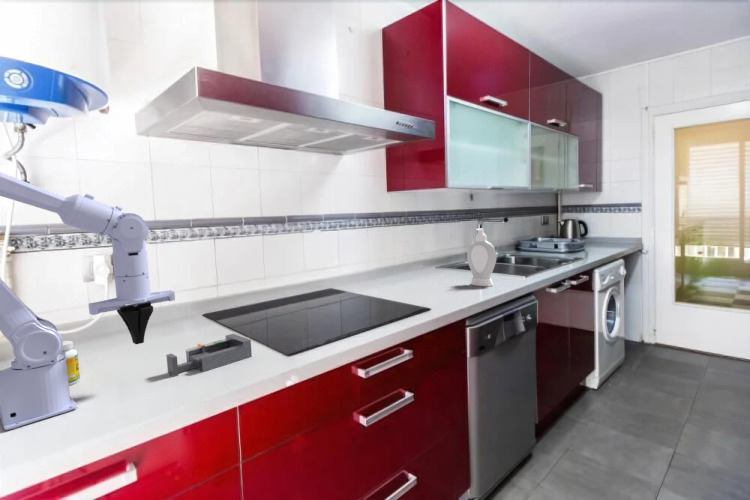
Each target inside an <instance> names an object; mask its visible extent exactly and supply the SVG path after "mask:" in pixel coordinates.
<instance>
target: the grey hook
mask: <svg viewBox="0 0 750 500" xmlns="http://www.w3.org/2000/svg"><path fill="white" fill-rule="evenodd" d="M197 346H200V347H201V350H202V353H199V354H195V355H192V356H190V362H187V361H186V362H184V363H183V362H182V363H180V364H178V356H177V355H175V354H173V353H168V354H166V355H165V356H166V366H167V367H166V368H167V373H168V374H169V375H171V376H172V377H175V376H178V375H179V373H182V372H184V371H188V370H192V369H195V368H196V369H198V370H200V369H199V356H203V355H206V354H209V353H207V352H205V345H204V344H203V343H201V342H199V343H197Z"/></svg>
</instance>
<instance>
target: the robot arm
mask: <svg viewBox="0 0 750 500" xmlns="http://www.w3.org/2000/svg"><path fill="white" fill-rule="evenodd" d="M0 197H3V198H6V199H9V200H12V201H16V202H19V203H23V204H25V205H29V206H33V207H35V208H39V209H42V210H46V211H48V212H51V213H53V214H54V213H55V214H57V216H59V218H60V219H61V221H62V223H63V224H65V225H67V226H71V227H73V228H76V229H80V230H83V231H86V232H89V233H92V234H94V235H99V236H100V237H105V236H108V237H109V239H111V244H112V245H111V246H112V253H111V255H112V256H111V257H112V263H113V274H114V284H115V294H116V297H114V298H110V299H106V300H100V301H96V302H90V303H88V311H89V312H88V313H89V314H90V315H91V316H95V315H99V314H102V313H108V312H113V311H116V312H117V314H118V315H119V316H120V318H121V319H122V321H123V322H124V324H125V326H126V327H127V330H128V332H129V334H130V337H131V340H132V343H133V344H135V345H140V344H143V343H145V334H146V330H147V326H148V323H149V320H150V319H151V318H150V317H151V316H152V314H153V312H154V306H153V304H158V303H162V302H163V303H164V302H174V301H175V300H176V294H175V291H174V290H164V291H163V290H162V291H156V292H151V286H150V275H149V264H148V263H149V261H148V253H147V249H146V248H147V247H146V246H147V245H146V238H147V237H148V234H149V232H150V228H149V226H148V225H147V222H146V220H144V219H143V217H142V216H140V215H139V214H136V213H134V212H133V213H132V212H128V213H127V212H123V207H121V206H118V205H116V206H115V207H114V206H111V205H108V204H106V203H103V202H100V201H98V200H94V199H95V196H94V195H91V194H88V193H86V194H85V195H82V194H79V193H78V194H77V193H76V194H73V195H70V196H67V197H65V196H63V195H60V194H58V193H55V192H52V191H50V190H48V189H45V188H42V187H40V186H37V185H34V184H32V183H29V182H26V181H24V180H21V179H19V178H16V177H13V176H11V175H8V174H6V173H5V172H1V171H0ZM0 332H1V334H2V336H3V337H4V338H6V339H7V340H8V342H10V344H11V346H12V352H13V356H14V357H15V358H14V360H12V361H11V362H10V366H9V367H7V368H4V369H1V370H0V421H1V424H2V426H3V429H4V430H5V431H9V430H12V429H15V428H19V427H22V426H26V425H28V424H31V423H35V422H38V421H42V420H44V419H47V418H50V417H54V416H57V415H60V414H64V413H66V412H69V411H70V412H71V411H72V410H73V411H74V410H76V409H77V408H78V404H77V403H76V402H75V400H74V399H73V398H72V396H71V394H70V386H69V383H68V373H67V364H66V356H65V353H64V352H62V348H63V341H64V340H63V336H62V335H61V334H60V333H59V332H58V329H57V326H56V325H55V324H54V323H53V322H51V321H50V320H47V319H44V318H42V317H39V316H38V315H37V314H35V312H34V311H33V310H32V309H31V308H30V307H28V306H27V305H26V304H25V302H23V301H22V300H21V299H20V298H19V296H17V294H16V293H14V291H13V290H12V289H11V288H10V287H9V286H8V285H7V283H6V282H4V281H3V279H2V278H0Z"/></svg>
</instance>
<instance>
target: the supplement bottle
mask: <svg viewBox="0 0 750 500" xmlns="http://www.w3.org/2000/svg"><path fill="white" fill-rule="evenodd" d="M73 347H74V342H73V341H72V340H63V348H62V352H64V353H65V356H66V364H67V373H68V383H69V387H70V386H72V385H75V384H77V383H78V382H79V381H80V379H81V376H80V375H81V374H80V365H79V364H80V363H79V354H78V351H77V350H76V349H73Z"/></svg>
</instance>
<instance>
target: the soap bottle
mask: <svg viewBox="0 0 750 500" xmlns="http://www.w3.org/2000/svg"><path fill="white" fill-rule="evenodd" d="M475 231H478V233H477V235H475V241H473V242H471V243H470V245H469V246H468V248H467V252H466V253H467V254H466V259H467V263H468V266H469V269H470V271H471V274H472V278H471V281H470V285H471V286H475V287H493V286H494V283H493V280H492V278H491V276H492V273H493V271H494V270H495V265H496V263H497V252H496V249H495V246H494V245H493V244H492V243H491V242H490V241H488V240H487V238H488V236H487V234H486V233H485V232H484V231H485V228H481V227H480V228H475Z"/></svg>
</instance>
